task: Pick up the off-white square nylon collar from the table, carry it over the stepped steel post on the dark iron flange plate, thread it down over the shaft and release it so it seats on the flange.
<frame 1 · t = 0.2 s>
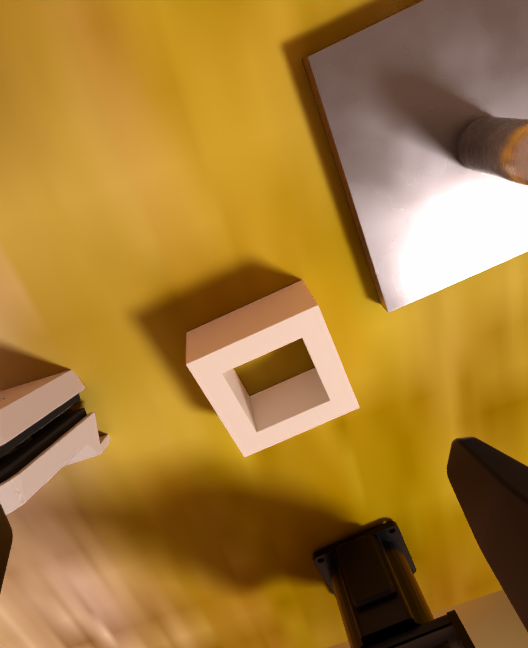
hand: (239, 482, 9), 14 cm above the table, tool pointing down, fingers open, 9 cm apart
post: (469, 142, 20), on the table
collar: (268, 354, 24), on the table
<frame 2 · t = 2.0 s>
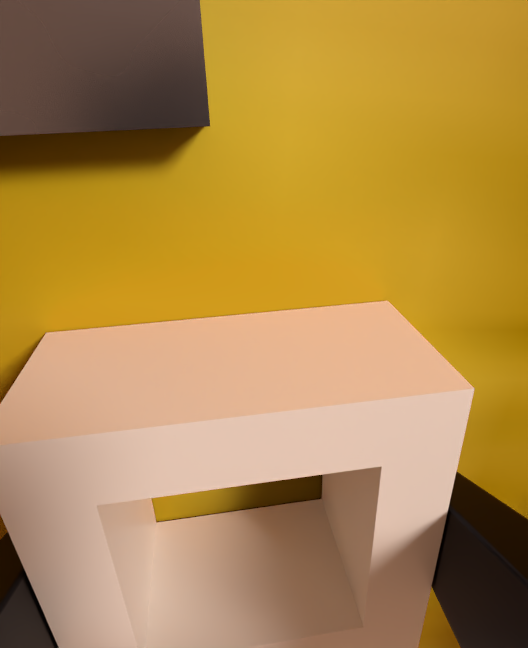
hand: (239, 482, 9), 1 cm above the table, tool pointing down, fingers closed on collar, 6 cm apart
collar: (235, 446, 10), on the table, touching gripper
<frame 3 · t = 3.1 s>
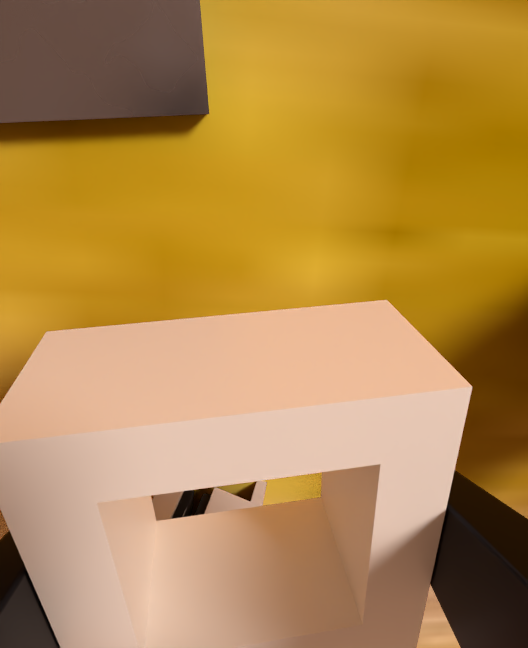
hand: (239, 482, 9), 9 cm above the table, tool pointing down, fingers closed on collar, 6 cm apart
napkin holder: (177, 582, 25), on the table
collar: (235, 445, 10), point 8 cm above the table, touching gripper
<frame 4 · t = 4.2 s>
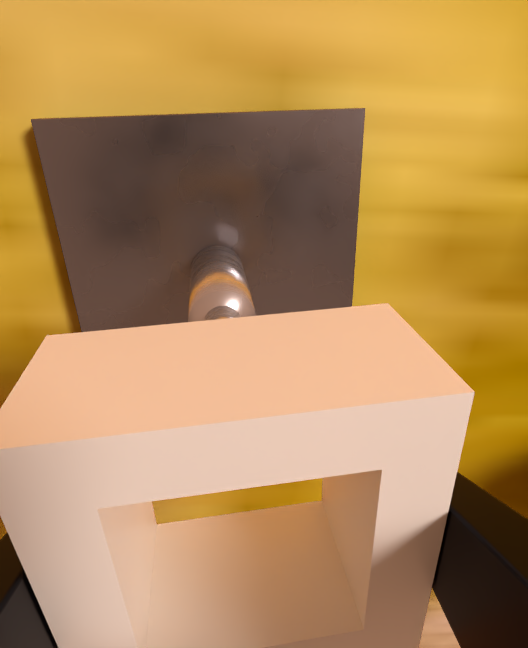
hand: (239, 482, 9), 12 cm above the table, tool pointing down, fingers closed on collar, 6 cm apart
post: (216, 263, 19), on the table
collar: (235, 448, 10), point 11 cm above the table, touching gripper
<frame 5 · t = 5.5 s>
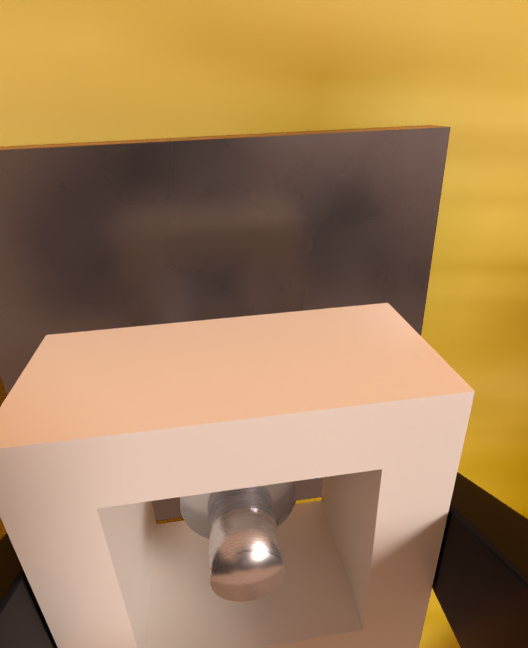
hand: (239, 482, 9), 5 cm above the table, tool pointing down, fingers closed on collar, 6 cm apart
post: (221, 346, 14), on the table
collar: (235, 448, 10), point 4 cm above the table, touching gripper
when the fingers open (3 cm above the table, at t = 6.4 s): collar drops 1 cm, resting on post.
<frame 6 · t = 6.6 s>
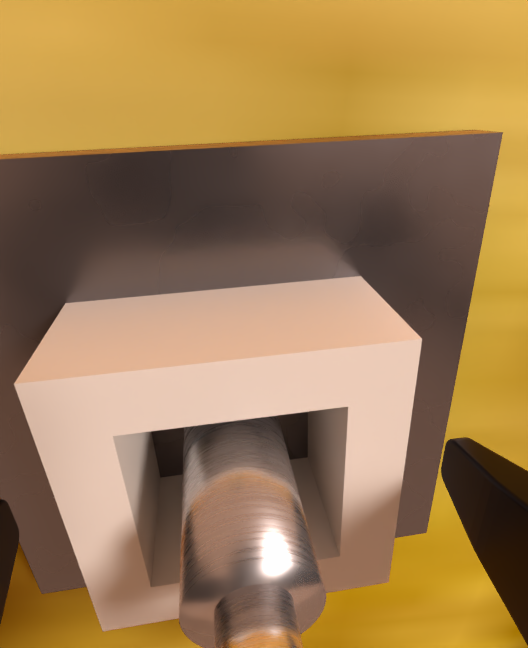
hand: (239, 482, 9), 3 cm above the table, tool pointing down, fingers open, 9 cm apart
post: (226, 383, 12), on the table
collar: (229, 407, 11), point 1 cm above the table, touching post
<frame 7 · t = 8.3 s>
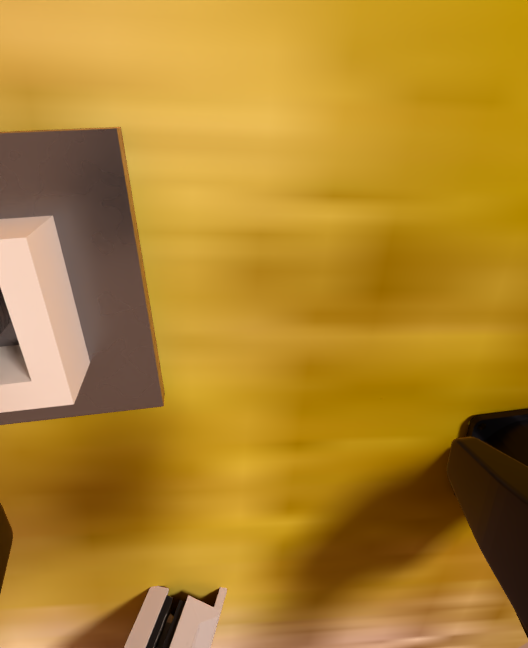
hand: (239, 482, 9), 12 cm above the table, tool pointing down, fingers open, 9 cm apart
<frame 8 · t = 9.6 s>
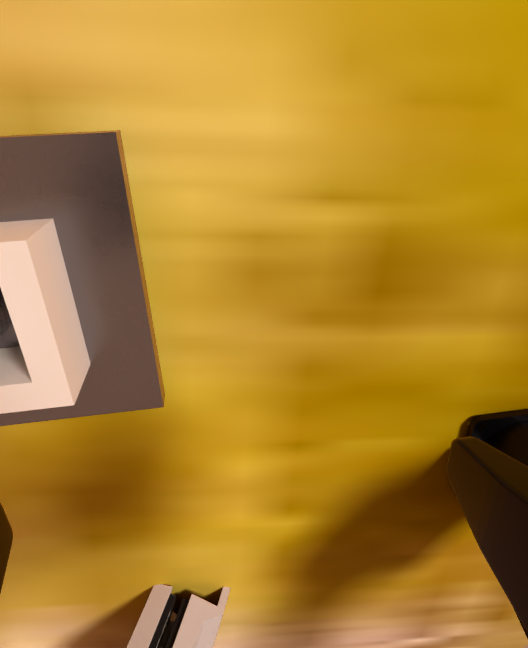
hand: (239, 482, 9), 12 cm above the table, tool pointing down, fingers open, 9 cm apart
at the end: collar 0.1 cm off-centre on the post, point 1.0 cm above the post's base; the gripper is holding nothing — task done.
